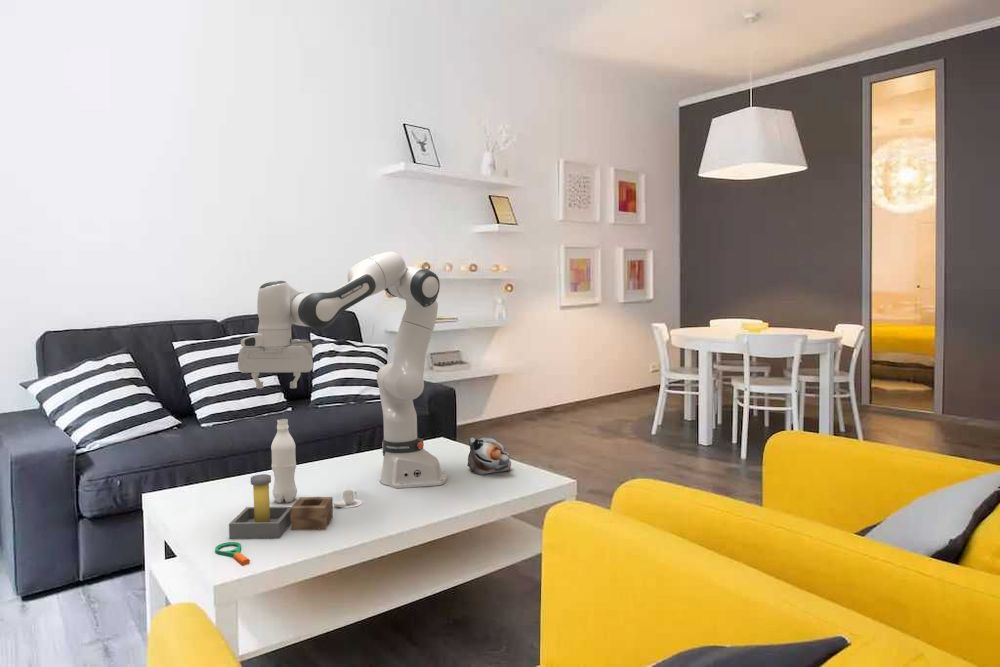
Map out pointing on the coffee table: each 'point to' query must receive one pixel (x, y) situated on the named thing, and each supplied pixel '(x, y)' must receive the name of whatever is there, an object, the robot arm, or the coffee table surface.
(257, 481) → the peg
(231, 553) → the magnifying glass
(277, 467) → the water bottle
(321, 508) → the holder
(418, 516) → the coffee table surface
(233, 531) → the tray
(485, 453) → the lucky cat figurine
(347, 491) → the teacup and saucer
